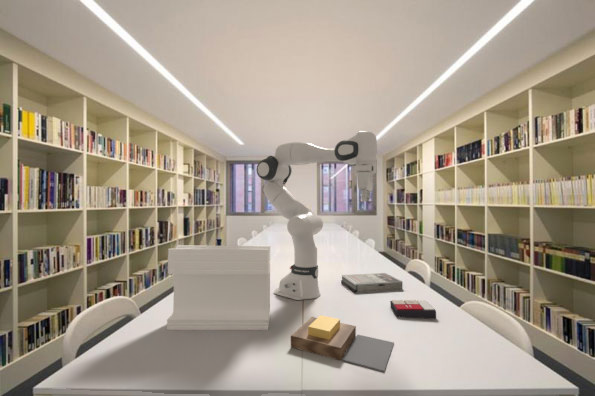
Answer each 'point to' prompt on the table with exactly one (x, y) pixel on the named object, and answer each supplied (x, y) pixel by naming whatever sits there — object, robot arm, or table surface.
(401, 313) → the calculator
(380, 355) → the mat
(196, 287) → the block
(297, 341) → the panel
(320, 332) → the yellow rectangular block
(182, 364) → the table surface
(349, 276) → the hard drive
